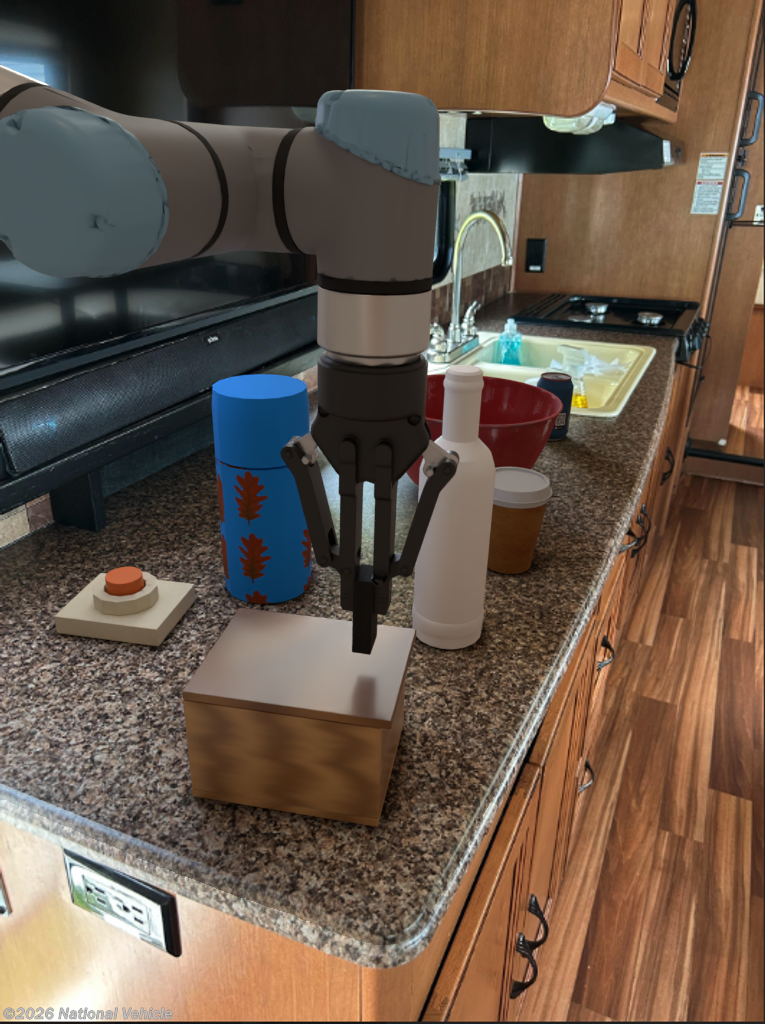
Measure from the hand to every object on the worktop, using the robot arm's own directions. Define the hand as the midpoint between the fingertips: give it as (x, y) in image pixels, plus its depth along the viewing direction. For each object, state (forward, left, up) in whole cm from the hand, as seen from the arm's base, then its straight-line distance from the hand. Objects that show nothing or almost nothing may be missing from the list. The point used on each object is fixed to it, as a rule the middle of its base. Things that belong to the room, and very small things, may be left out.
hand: (364, 643), depth 62 cm
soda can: (+17, +96, -13) cm, 98 cm away
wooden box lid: (-5, 0, -3) cm, 6 cm away
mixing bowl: (+3, +66, -13) cm, 67 cm away
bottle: (+5, +23, -13) cm, 27 cm away
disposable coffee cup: (+11, +41, -13) cm, 44 cm away
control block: (-31, +18, -13) cm, 38 cm away
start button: (-31, +18, -9) cm, 37 cm away
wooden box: (-5, 0, -13) cm, 14 cm away
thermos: (-18, +29, -13) cm, 37 cm away
